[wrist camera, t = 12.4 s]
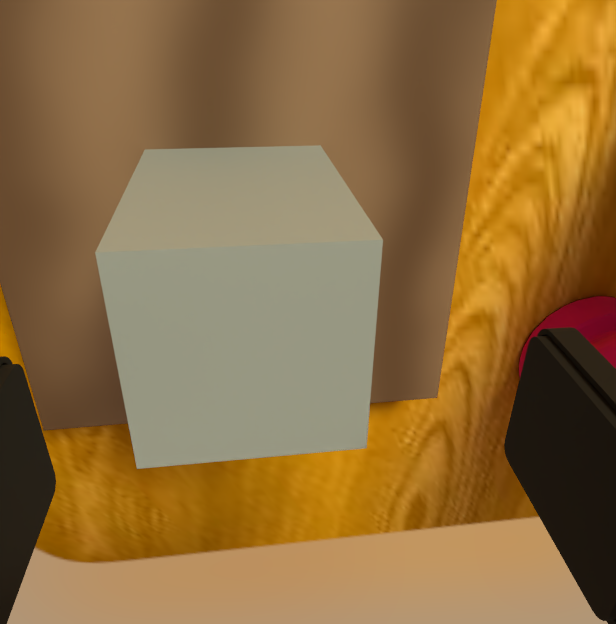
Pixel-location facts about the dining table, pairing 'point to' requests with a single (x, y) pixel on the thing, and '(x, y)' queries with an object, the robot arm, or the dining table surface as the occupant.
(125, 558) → the dining table surface
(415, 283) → the walnut base
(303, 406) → the slate block
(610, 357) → the pepper mill
